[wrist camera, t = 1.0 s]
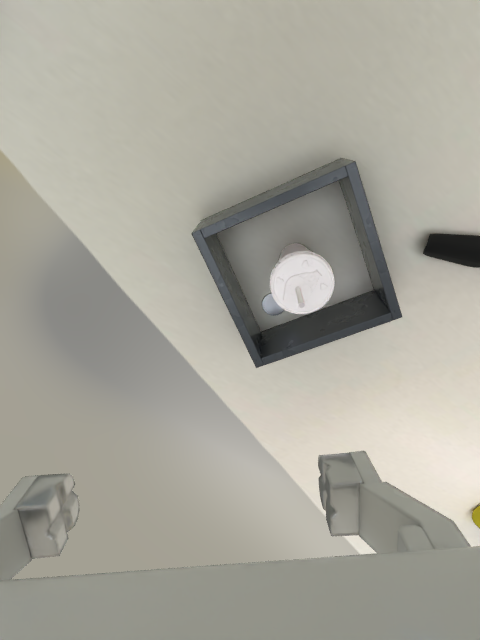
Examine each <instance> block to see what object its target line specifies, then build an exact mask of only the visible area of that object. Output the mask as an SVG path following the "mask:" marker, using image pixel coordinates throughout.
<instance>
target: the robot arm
mask: <svg viewBox="0 0 480 640" xmlns="http://www.w3.org/2000/svg"><path fill="white" fill-rule="evenodd" d="M318 467H319V470H320V473H321V476H320V477H319V490H320V497H321V502H322V506H323V509H324V510H326V520H327V523H328V527H329V530H330V533H331V536H349V535H359V536H360V537H361V538H362V539H363V540H364V541H365V542H366V543H367V544H368V545H369V546H370V547H371V548H372V549H373V550H374V551H375V552H377V554H363V555H349V556H335V557H321V558H307V559H293V560H279V561H265V562H252V563H238V564H224V565H211V566H197V567H182V568H168V569H156V570H141V571H127V572H113V573H99V574H85V575H71V576H57V577H43V578H30V579H15V580H11V579H12V578H13V577H14V576H15V575H16V574H17V573H18V572H19V571H21V570H22V569H23V568H24V567H25V566H26V565H27V564H28V563H29V562H30V561H31V560H32V559H34V558H44V557H54V556H60V554H61V552H62V550H63V548H64V546H65V544H66V542H67V540H68V535H67V532H68V531H70V530H71V529H72V528H73V527H74V526H75V524H76V522H77V519H78V514H79V499H78V496H77V495H76V494H75V493H74V492H73V491H72V489H73V487H74V485H75V482H74V479H73V476H72V475H71V474H53V475H37V476H36V475H35V476H25V477H23V478H21V480H20V481H19V482H18V483H17V485H16V486H15V487H14V489H13V490H12V491H11V492H10V494H9V495H8V496H7V497H6V499H5V500H4V501H3V503H2V504H1V505H0V640H480V546H475V547H471V546H470V545H469V543H468V542H467V540H466V539H465V537H464V536H463V534H462V533H461V531H460V530H459V529H458V527H457V526H456V524H455V523H454V521H452V520H451V519H449V518H447V517H446V516H444V515H442V514H440V513H439V512H437V511H435V510H434V509H432V508H430V507H428V506H427V505H425V504H423V503H422V502H420V501H418V500H416V499H415V498H413V497H411V496H410V495H408V494H406V493H404V492H403V491H401V490H399V489H398V488H396V487H394V486H392V485H391V484H389V483H387V482H382V481H381V479H380V477H379V476H378V474H377V472H376V470H375V468H374V466H373V464H372V463H371V461H370V459H369V457H368V455H367V453H366V452H365V451H357V452H349V453H340V454H329V455H319V457H318Z"/></svg>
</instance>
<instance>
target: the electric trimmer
mask: <svg viewBox="0 0 480 640" xmlns="http://www.w3.org/2000/svg"><path fill="white" fill-rule="evenodd" d="M423 254H425V255H427V256H430V257H434V258H438V259H442V260H445V261H449V262H453V263H457V264H461V265H465V266H470V267H480V236H473V235H452V234H430V235H429V238H428V242H427V244H426V247H425V250H424V252H423Z"/></svg>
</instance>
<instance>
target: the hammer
mask: <svg viewBox="0 0 480 640" xmlns="http://www.w3.org/2000/svg"><path fill="white" fill-rule="evenodd" d="M472 519H473V522H474V523H475V524H476V525H477V526H478V527H479V528H480V506H478V507H477V508H476V509H474V511H473V513H472Z"/></svg>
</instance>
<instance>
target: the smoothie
mask: <svg viewBox="0 0 480 640" xmlns="http://www.w3.org/2000/svg"><path fill="white" fill-rule="evenodd" d="M334 285H335V280H334V275H333V271H332V268H331V266H330V265H329V263H328V262H327V261H326V260H325V259H324V258H323V257H322V256H320V255H318V254H316V253H314V252H311V251H310V250H309V249H308V248H306V247H305V246H304V245H302V244H299V243H293V244H289V245H287V246H286V247H285V248H284V249H283V250H282V252H281V254H280V257H279V260H278V262H277V264H276V265H275V266H274V268H273V270H272V272H271V276H270V289H271V293H272V296H273V298H274V300H275V302H276V303H277V304H278V305H279V306H280V307H281V308H283V309H284V310H286V311H288V312H291V313H294V314H308V313H312V312H314V311H317V310H318V309H320V308H321V307H323V306H324V305H325V304H326V303H327V302H328V301H329V299H330V297H331V296H332V293H333V291H334Z"/></svg>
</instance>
